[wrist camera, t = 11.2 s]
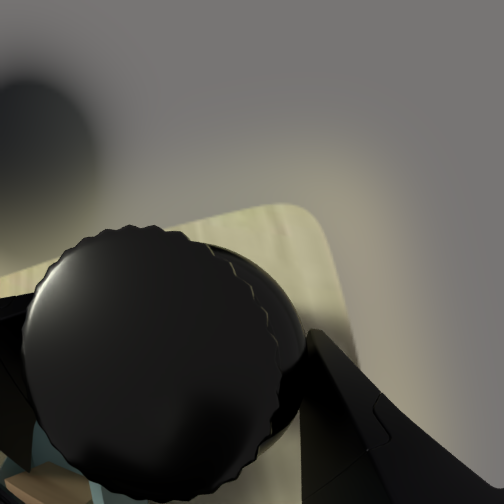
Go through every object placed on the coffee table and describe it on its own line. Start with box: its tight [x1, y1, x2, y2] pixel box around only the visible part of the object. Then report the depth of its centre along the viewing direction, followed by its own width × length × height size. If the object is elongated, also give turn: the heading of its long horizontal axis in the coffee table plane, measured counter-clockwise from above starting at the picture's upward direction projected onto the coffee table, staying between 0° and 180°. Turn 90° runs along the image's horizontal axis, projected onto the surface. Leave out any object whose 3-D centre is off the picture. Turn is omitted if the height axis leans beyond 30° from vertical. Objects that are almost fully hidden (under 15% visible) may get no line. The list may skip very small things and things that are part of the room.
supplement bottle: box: [20, 225, 309, 504], centre depth 9 cm, size 7×7×12 cm
